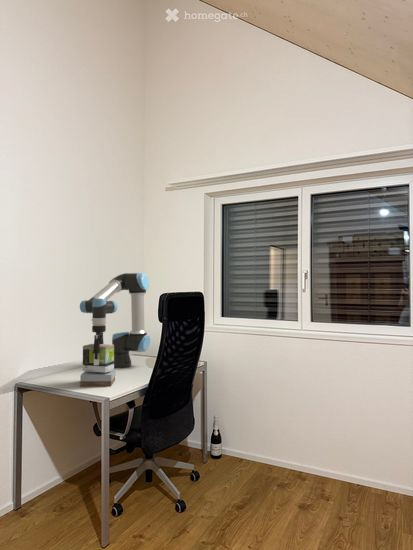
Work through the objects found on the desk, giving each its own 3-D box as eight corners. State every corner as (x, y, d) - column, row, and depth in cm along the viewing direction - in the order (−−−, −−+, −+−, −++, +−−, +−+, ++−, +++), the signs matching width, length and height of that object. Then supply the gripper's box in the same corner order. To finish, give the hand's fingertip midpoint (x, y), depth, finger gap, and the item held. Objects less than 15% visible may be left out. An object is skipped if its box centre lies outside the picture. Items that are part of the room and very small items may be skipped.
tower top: (86, 375, 235) (86, 369, 235) (115, 375, 236) (115, 369, 236) (80, 381, 221) (80, 375, 221) (111, 381, 222) (111, 374, 222)
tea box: (114, 369, 231) (114, 344, 231) (105, 373, 221) (105, 346, 222) (92, 367, 235) (92, 342, 236) (82, 371, 226) (82, 345, 226)
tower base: (85, 381, 234) (85, 375, 235) (115, 381, 236) (115, 375, 236) (79, 387, 220) (80, 381, 221) (111, 387, 222) (111, 381, 222)
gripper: (96, 323, 241) (96, 358, 240) (87, 327, 217) (87, 367, 216) (109, 322, 241) (108, 358, 241) (101, 327, 217) (101, 367, 217)
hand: (98, 362), depth 228 cm, fingers closed on tea box, 12 cm apart
